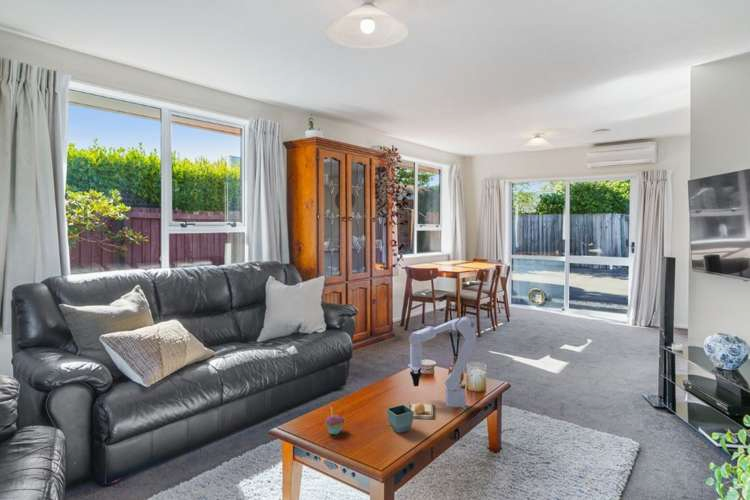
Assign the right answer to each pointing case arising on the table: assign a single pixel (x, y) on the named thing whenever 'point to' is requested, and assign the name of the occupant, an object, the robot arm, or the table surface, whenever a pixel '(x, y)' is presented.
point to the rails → (423, 415)
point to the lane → (427, 406)
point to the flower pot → (400, 418)
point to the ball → (419, 408)
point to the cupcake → (334, 423)
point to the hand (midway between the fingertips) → (416, 383)
